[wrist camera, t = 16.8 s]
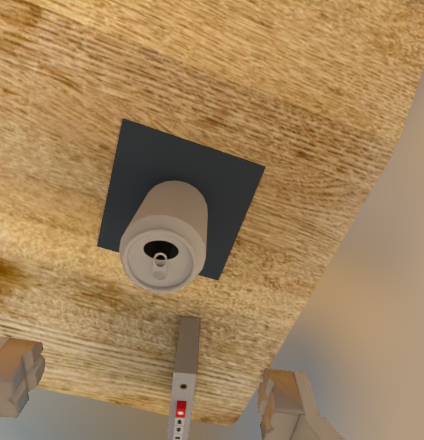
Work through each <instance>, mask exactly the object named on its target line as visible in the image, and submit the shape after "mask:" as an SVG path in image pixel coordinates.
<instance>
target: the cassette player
mask: <svg viewBox="0 0 424 440" xmlns="http://www.w3.org/2000/svg"><path fill="white" fill-rule="evenodd" d="M199 332H200V318H192V317H182V316H181V322H180V329H179V336H178V343H177V350H176V357H175V364H174V371H173V381H172V392H171V402H170V413H169V424H168V434H167V440H188V434H189V426H190V420H191V413H192V406H193V399H194V392H195V385H196V378H197V366H198V349H199Z"/></svg>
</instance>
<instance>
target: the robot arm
mask: <svg viewBox="0 0 424 440" xmlns="http://www.w3.org/2000/svg"><path fill="white" fill-rule="evenodd" d="M42 351H43V345H42V343H41V342H36V341H29V340H23V339H16V338H8V337H0V417H12V418H17V417H18V416H19V414H20V413H21V411H22V409H23V408H24V406H25V404H26V403H27V401H28V399H29V395H28V392H29V391H31V390H32V389H34V388H35V387H36V386H37V385H38V383H39V381H40V380H41V377H42V375H43V372H44V368H45V359H44V357H43V356H42V355H41V352H42ZM258 409H259V413H260V414H261V416H262V421H261V424H260V427H261V435H262V440H344V438H343V437H342V436H341V435H340V434H339V433H338V432H337V431H336V429H334V427H333V426H332V425H331V424H330V423H329V422H328V421H327V419H326V418H325V417H320V413H319V410H318V407H317V403H316V400H315V397H314V394H313V390H312V388H311V384H310V381H309V378H308V375H307V374H306V373H301V372H292V371H286V370H276V369H267V368H266V369H265V370H264V372H263V382H262V383H260V387H259V390H258Z"/></svg>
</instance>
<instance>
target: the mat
mask: <svg viewBox="0 0 424 440" xmlns="http://www.w3.org/2000/svg"><path fill="white" fill-rule="evenodd" d="M264 169H265V166H262V165H259V164H256V163H253V162H250V161H247V160H244V159H241V158H238V157H235V156H232V155H229V154H226V153H223V152H220V151H217V150H214V149H211V148H208V147H205V146H202V145H199V144H197V143H194V142H191V141H188V140H185V139H182V138H179V137H176V136H173V135H170V134H167V133H164V132H161V131H158V130H155V129H152V128H149V127H146V126H143V125H140V124H137V123H134V122H131V121H129V120H126V119H123V120H122V125H121V130H120V135H119V140H118V145H117V150H116V155H115V160H114V165H113V170H112V175H111V180H110V185H109V190H108V195H107V200H106V205H105V210H104V215H103V220H102V225H101V230H100V235H99V240H98V245H97V246H98V247H102V248H105V249H109V250H112V251H116V252H119V248H120V241H121V238H122V236H123V234H124V233H125V231H126V229H127V227H128V226H129V224H130V222H131V221H132V219H133V217H134V216H135V214H136V212H137V211H138V209H139V207H140V206H141V204H142V202H143V201H144V199H145V197H146V196H147V194H148V192H149V191H150V190H151V189H152V188H153V187H155V186H156V185H157V184H160V183H163V182H165V181H181V182H185V183H188V184H190V185H191V186H193V187H195V188H196V189H197V190H198V191H199V192H200V193H201V194H202V195H203V197H204V199H205V202H206V204H207V210H208V221H207V243H206V259H205V262H204V266H203V269H202V270H201V272H200V273H199V274H198V275H201V276H205V277H208V278H212V279H215V280H219V277H220V275H221V273H222V270H223V268H224V265H225V263H226V261H227V258H228V256H229V253H230V251H231V249H232V246H233V244H234V241H235V239H236V237H237V234H238V232H239V229H240V227H241V225H242V222H243V220H244V217H245V215H246V212H247V210H248V208H249V205H250V203H251V200H252V198H253V196H254V193H255V191H256V188H257V186H258V184H259V181H260V179H261V176H262V174H263V172H264ZM119 253H120V252H119Z"/></svg>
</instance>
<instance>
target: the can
mask: <svg viewBox="0 0 424 440" xmlns="http://www.w3.org/2000/svg"><path fill="white" fill-rule="evenodd" d="M207 221H208V210H207V204H206V202H205V199H204V197H203V195H202V194H201V193H200V192H199V191H198V190H197V189H196V188H195V187H193V186H191V185H190V184H188V183H185V182H181V181H165V182H163V183H160V184H157V185H156V186H155V187H153V188H152V189H151V190H150V191H149V192H148V194H147V196H146V197H145V199H144V201H143V202H142V204H141V206H140V207H139V209H138V211H137V212H136V214H135V216H134V217H133V219H132V221H131V222H130V224H129V226H128V227H127V229H126V231H125V233H124V234H123V236H122V238H121V241H120V248H119V252H120V257H121V261H122V263H123V268H124V271H125V272H126V274H127V276H128V277H129V279H130V280H131V281H132V282H133V283H135V284H136V285H137V286H138V287H140V288H142V289H144V290H146V291H149V292H153V293H158V294H164V293H172V292H176V291H179V290H181V289H183V288H184V287H186V286H187V285H188V284H190V282H191V281H192V280H194V279H195V278H196V277H197V276H198V274H199V273H200V272H201V270H202V269H203V266H204V262H205V259H206V243H207Z"/></svg>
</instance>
